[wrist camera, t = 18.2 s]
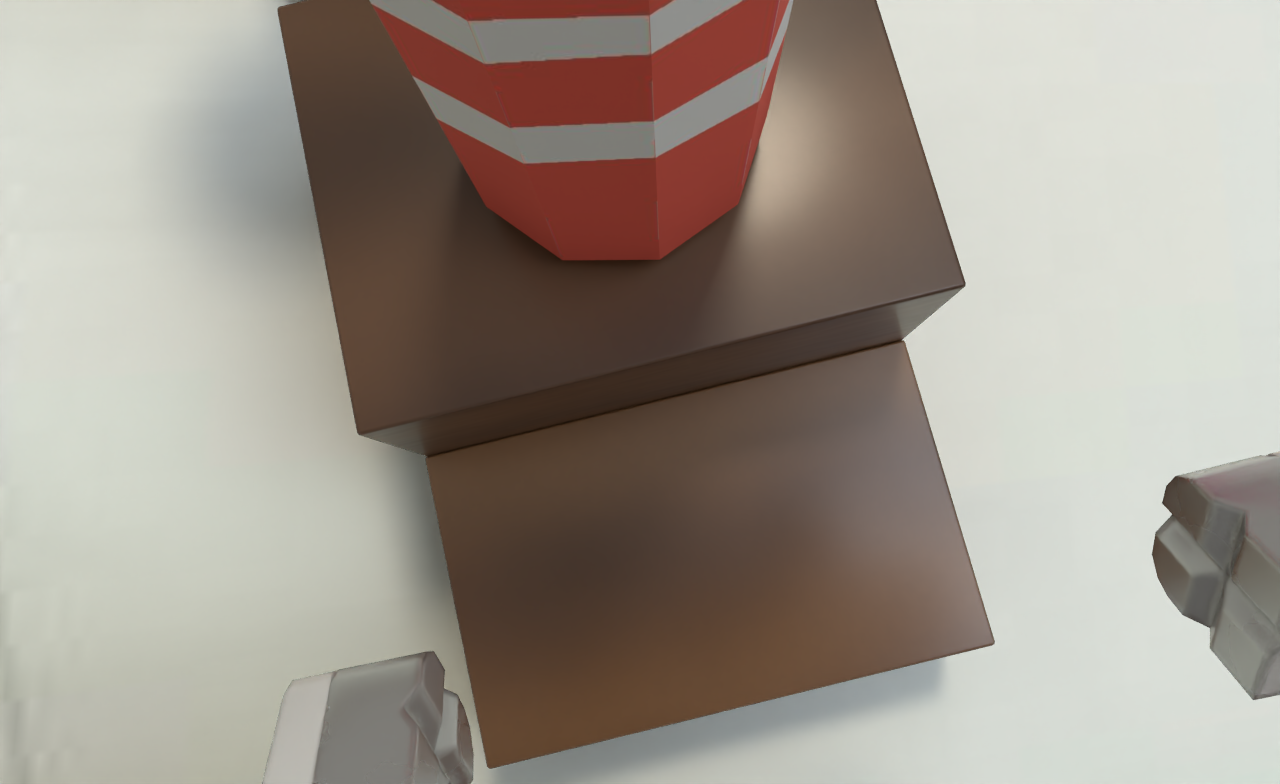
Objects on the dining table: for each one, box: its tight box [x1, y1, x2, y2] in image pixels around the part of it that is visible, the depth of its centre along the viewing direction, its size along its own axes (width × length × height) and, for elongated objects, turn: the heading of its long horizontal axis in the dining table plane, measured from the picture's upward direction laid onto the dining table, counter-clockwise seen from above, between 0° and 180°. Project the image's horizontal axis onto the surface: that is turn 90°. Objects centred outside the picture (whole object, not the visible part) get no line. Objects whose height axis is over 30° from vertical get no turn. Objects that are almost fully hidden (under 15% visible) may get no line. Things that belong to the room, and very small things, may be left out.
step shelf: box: [278, 0, 995, 769], centre depth 23 cm, size 18×13×9 cm
